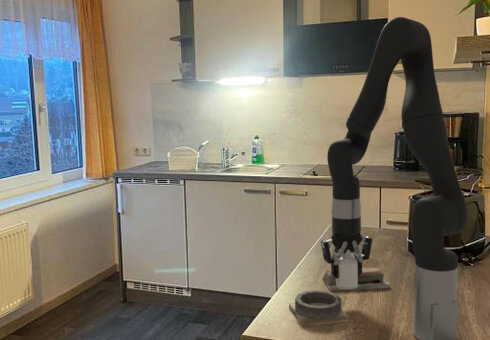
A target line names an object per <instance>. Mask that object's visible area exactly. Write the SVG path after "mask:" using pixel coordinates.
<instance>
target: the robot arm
mask: <svg viewBox="0 0 490 340" xmlns="http://www.w3.org/2000/svg"><path fill="white" fill-rule="evenodd" d="M399 62H401V65H402V69H403V74H404V78H405V91H404V97H403V100H402V106H401V116H400V117H401V122H402V123H401V124H402V128H403V133H404V138H405V139H404V140H405V142H406V145H407V148H408V149H409V151H410V152H411V153H412V155H413V156H414V157H415V158H416V160H417V161H418V163H419V164H420V165H421V166H422V167H423V169H424V170H425V172H426V174H427V176H428V178H429V181H430V184H431V189H432V192H433V196H426V197H423V198H420V199H418V200H417V201H415V203H414V205H413V208H412V210H411V241H412V242H411V245H412V246H411V247H412V251H413V255H414V282H413V283H414V287H413V288H414V290H413V320H412V321H413V322H412V325H413V326H412V334H413V336H414V337H415V338H417V339H418V340H458V338H457V336H458V318H459V317H458V316H459V303H458V302H457V291H458V288H457V287H458V286H457V285H458V268H459V257H458V255H457V253H455V252H454V251H453V250H449V249H448V248H445V242H444V241H445V240H444V239H445V238H444V237H447V236H452V235H457V234H460V233H462V232H463V231H464V230H465V229H466V226H467V224H468V215H469V214H468V210H467V208H468V207H467V205H466V201H465V198H464V194H463V191H462V188H461V185H460V182H459V180H458V176H457V173H456V169H455V166H454V161H453V156H452V152H451V149H450V144H449V137H448V132H447V126H446V121H445V118H444V112H443V108H442V104H441V99H440V94H439V89H438V84H437V80H436V74H435V69H434V57H433V45H432V38H431V34H430V31H429V29H428V28H427V27H426V25H425V24H423V23H422V22H419V21H416V20H414V19H410V18H407V17H403V16H398V17H393V18H392V19H390V20H388V21H387V23H386V24H385V25H384V26H383V28H382V30H381V31H380V35H379V38H378V40H377V42H376V46H375V49H374V53H373V56H372V58H371V61H370V65H369V68H368V71H367V75H366V76H365V80H364V83H363V85H362V88H361V90H360V91H359V92H360V93H359V95H358V97H357V98H356V99H357V100H355V103H354V105H353V107H352V109H351V111H350V112H349V113H350V114H349V115H348V117H347V119H346V123H345V126H346V129H347V132H346V135H345V137H344V138H343V139H338V140H334V141H333V142H332V143H331V144H330V145H329V147H328V150H327V153H326V154H327V155H326V156H327V158H326V159H327V160H326V161H327V164H328V165H327V166H328V169H329V173H330V178H331V181H332V202H331V234H332V236H331V238H330V239H328V240H327V239H326V240H325V239H321V240H320V245H321V251H322V255H323V260H324V262H326V263H327V264H330V269H331V274H332V276H333V277H334V278H335V279H337V278H339V265H337V264H338V262H339V260H340V258H341V257H342V255H343V253H346V251H347V250H350V253H353V256H354V258H355V259H356V260H357V264H358V276H360V274H362V268H363V262H364V261H366V260H369V259H370V254H371V249H372V243H373V242H372V241H373V239H372V238H371V237H370V236H367V235H365V236H362V233H361V232H362V218H361V217H362V204H361V186H360V179H359V177H358V176H357V175H354V169H353V165H356V164H358V163H360V162H361V160H362V159H363V158H364V156H365V155H366V152H367V149H368V146H369V142H370V141H371V140H370V139H371V135H372V133H373V131H374V129H375V127H376V125H377V124H378V122H379V120H380V118H381V116H382V114H383V112H384V109H385V106H386V102H387V95H388V88H389V82H390V79H391V77H392V74H393V73H394V70H395V68H396V67H397V65H398V63H399ZM360 244H362V248H361V250H360V248H359V245H360ZM332 245H333V246H334V247H333V250H332V255H331V251H330V249H331V247H332Z"/></svg>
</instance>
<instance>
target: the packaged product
mask: <svg viewBox="0 0 490 340" xmlns="http://www.w3.org/2000/svg"><path fill="white" fill-rule="evenodd" d="M322 280H323V283H324V284H325V285H326V288H327V289H328V290H329V292H331V291H332V292H333V291H357V290H358V291H359V290H361V291H362V290H377V289H378V290H380V289H381V290H382V289H389V288H391V287H390V286H391V283H389V282H388V281H387V280H386V279H385V278H384V272H383V270H382V269H380V268H377V267H362V274H360V276H358V287H357V288H354V289H338V288H337V287H336V279H335V278H334V277H333V276H332V274H331V268H326V269H325V272H324V274H323V276H322Z"/></svg>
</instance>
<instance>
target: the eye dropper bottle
mask: <svg viewBox="0 0 490 340" xmlns="http://www.w3.org/2000/svg"><path fill="white" fill-rule="evenodd" d="M337 265H339V278H337V279H336V287H337V288H338V289H354V288H357V287H358V264H357V260H356V259H355V257H354V258H353V257H351V253H350V250H347V251H346V253H343V255H342V257H341V258H340V260H339V262H338V264H337Z"/></svg>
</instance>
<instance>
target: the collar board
mask: <svg viewBox="0 0 490 340" xmlns="http://www.w3.org/2000/svg"><path fill="white" fill-rule="evenodd" d="M288 308H289V310H290V311H291V312H292V313H293V315H294V317H295V318H296V320H297V321H299V323H300V325H301V326H302V327H303V328H305V327H312V326H321V325H322V326H323V325H331V324H337V323H348V322H350V316H349V315H348V314H347V313H346V312H345V311H344V309H342V298H341V297H340V296H339V295H338V294H336V293H334V292H331V291H328V290H327V291H326V290H319V289H318V290H317V289H314V290H306V291H302V292H300V293H298V294H297V295H296V296H295V299H294V302H289V303H288Z"/></svg>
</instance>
